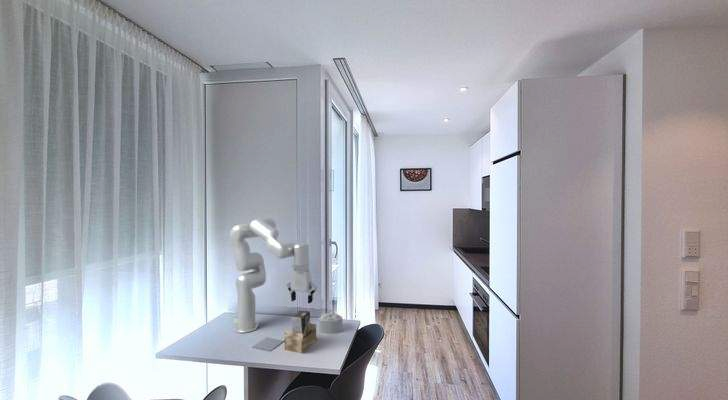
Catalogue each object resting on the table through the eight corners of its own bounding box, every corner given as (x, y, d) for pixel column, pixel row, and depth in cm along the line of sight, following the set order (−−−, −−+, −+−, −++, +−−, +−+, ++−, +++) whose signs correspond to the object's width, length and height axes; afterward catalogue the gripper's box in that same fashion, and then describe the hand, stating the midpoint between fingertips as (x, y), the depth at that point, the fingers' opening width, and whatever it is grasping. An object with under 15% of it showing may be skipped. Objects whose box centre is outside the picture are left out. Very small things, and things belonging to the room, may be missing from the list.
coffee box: (303, 350, 145) (303, 317, 146) (291, 349, 147) (291, 316, 147) (310, 341, 154) (310, 310, 154) (298, 340, 156) (298, 309, 156)
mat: (252, 347, 148) (252, 346, 148) (266, 337, 158) (266, 337, 158) (270, 351, 144) (270, 350, 144) (284, 341, 155) (284, 340, 155)
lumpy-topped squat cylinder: (322, 325, 175) (322, 310, 175) (344, 326, 173) (344, 311, 173) (317, 333, 165) (317, 317, 165) (340, 334, 163) (340, 318, 163)
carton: (284, 349, 146) (284, 331, 146) (299, 338, 159) (299, 321, 159) (302, 353, 143) (302, 334, 143) (316, 341, 155) (316, 324, 155)
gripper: (282, 268, 150) (283, 302, 150) (312, 270, 144) (312, 305, 144) (291, 265, 157) (291, 297, 157) (320, 267, 151) (320, 301, 151)
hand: (301, 301), depth 150 cm, fingers open, 9 cm apart
